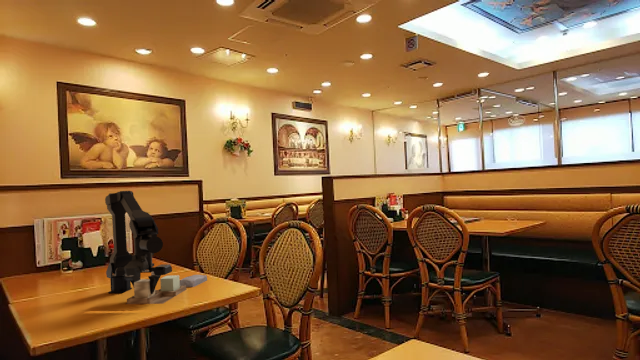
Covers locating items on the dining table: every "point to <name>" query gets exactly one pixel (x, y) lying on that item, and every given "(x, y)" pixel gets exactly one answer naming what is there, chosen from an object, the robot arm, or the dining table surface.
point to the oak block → (142, 289)
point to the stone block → (193, 280)
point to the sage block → (170, 283)
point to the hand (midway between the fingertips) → (144, 294)
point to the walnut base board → (157, 297)
